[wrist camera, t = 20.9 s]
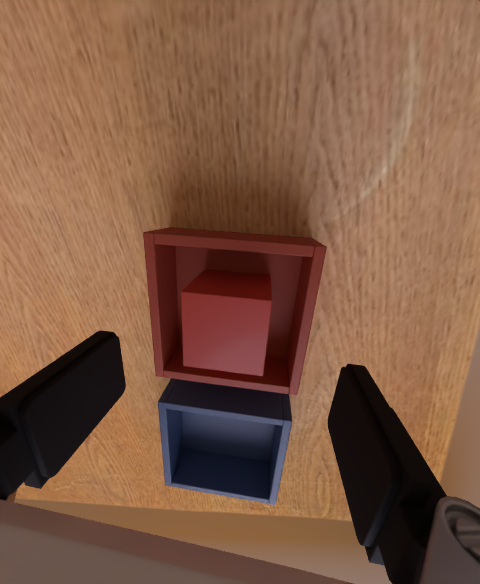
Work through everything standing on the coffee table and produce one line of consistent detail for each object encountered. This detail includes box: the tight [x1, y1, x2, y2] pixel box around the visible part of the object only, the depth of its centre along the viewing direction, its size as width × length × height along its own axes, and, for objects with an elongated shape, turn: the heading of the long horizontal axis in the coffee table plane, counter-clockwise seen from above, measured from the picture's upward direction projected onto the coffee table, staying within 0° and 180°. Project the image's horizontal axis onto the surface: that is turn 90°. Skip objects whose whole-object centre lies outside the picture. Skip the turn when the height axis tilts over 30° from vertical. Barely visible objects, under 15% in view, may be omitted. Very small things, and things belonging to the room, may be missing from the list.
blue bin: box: [158, 378, 292, 505], centre depth 19 cm, size 10×10×4 cm
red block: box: [181, 269, 272, 376], centre depth 14 cm, size 5×5×5 cm
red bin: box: [143, 228, 326, 395], centre depth 15 cm, size 10×10×4 cm
